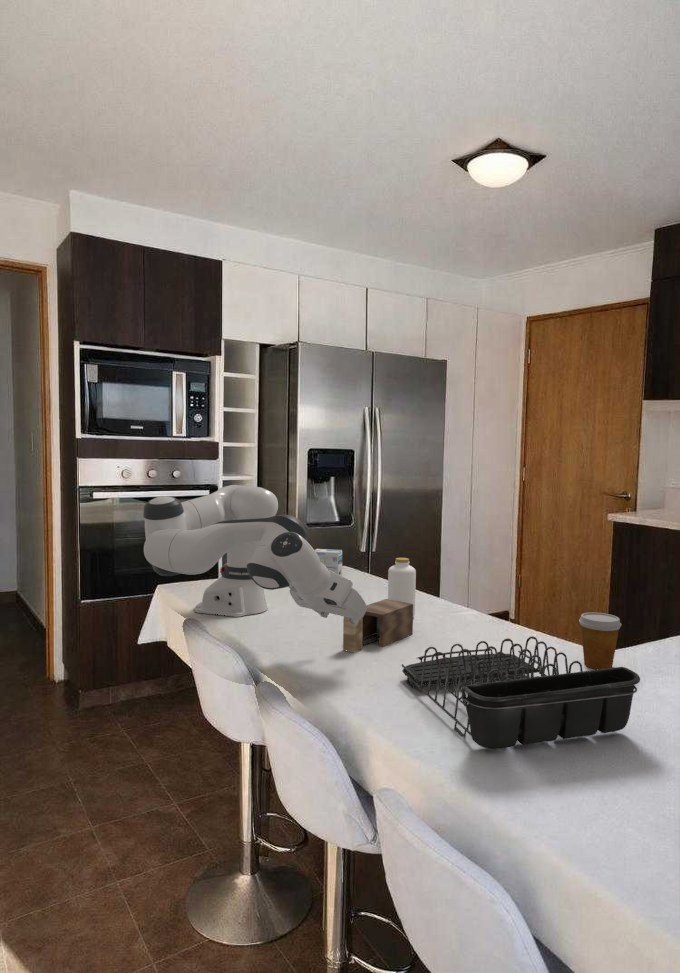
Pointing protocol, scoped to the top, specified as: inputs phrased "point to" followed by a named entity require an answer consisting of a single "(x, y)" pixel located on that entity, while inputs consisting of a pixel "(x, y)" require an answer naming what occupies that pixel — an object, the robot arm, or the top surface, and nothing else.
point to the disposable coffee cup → (599, 639)
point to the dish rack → (527, 695)
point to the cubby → (388, 620)
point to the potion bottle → (402, 582)
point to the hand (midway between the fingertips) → (340, 618)
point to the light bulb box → (331, 559)
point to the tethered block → (355, 635)
